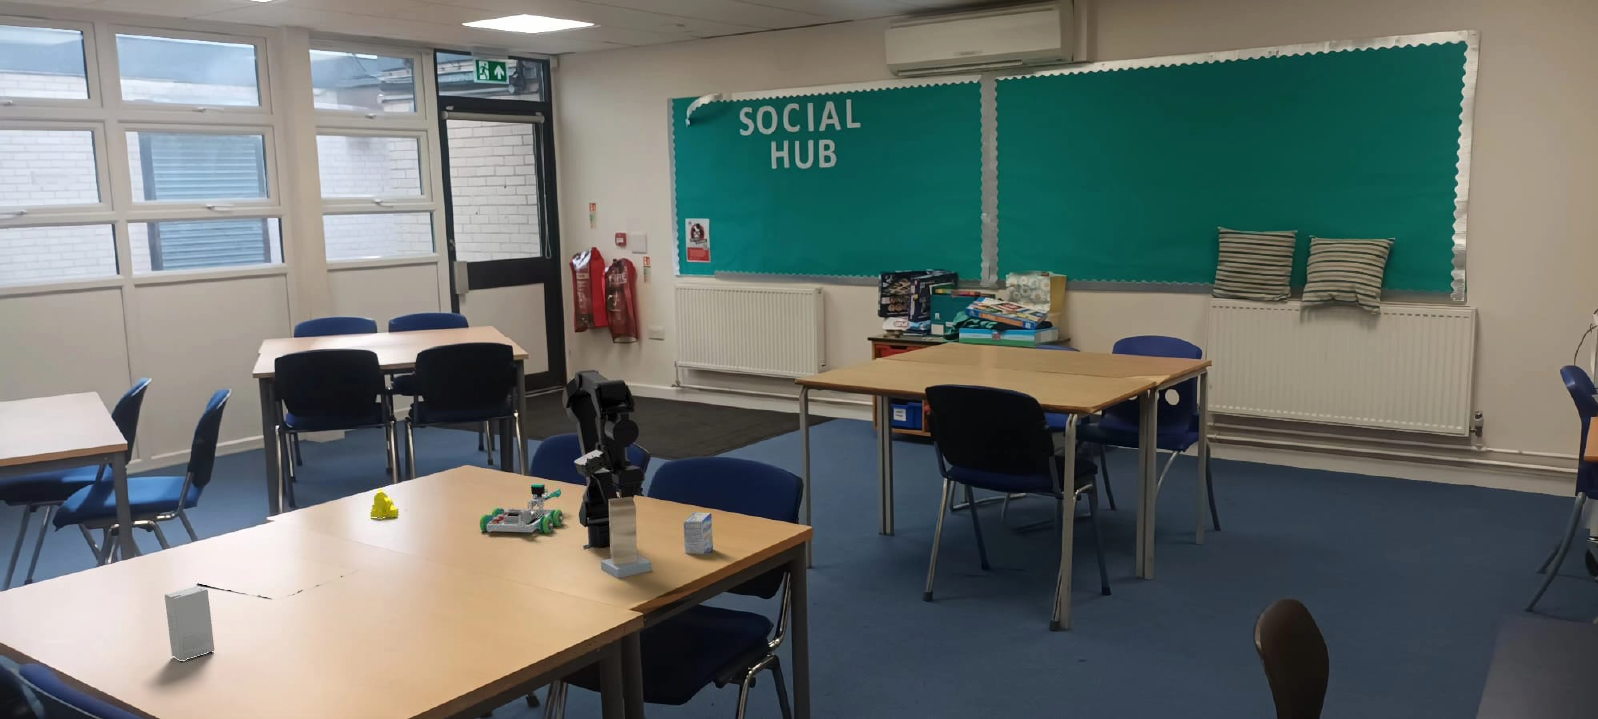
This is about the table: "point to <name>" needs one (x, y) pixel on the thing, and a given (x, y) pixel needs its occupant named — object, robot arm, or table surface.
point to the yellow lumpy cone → (383, 506)
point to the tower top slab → (626, 567)
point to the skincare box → (189, 622)
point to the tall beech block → (622, 530)
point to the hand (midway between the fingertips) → (616, 507)
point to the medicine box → (698, 533)
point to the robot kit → (525, 515)
